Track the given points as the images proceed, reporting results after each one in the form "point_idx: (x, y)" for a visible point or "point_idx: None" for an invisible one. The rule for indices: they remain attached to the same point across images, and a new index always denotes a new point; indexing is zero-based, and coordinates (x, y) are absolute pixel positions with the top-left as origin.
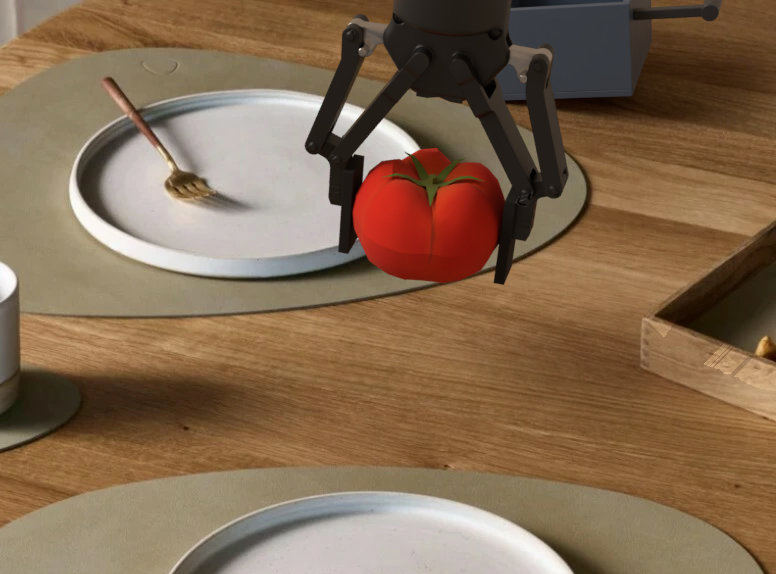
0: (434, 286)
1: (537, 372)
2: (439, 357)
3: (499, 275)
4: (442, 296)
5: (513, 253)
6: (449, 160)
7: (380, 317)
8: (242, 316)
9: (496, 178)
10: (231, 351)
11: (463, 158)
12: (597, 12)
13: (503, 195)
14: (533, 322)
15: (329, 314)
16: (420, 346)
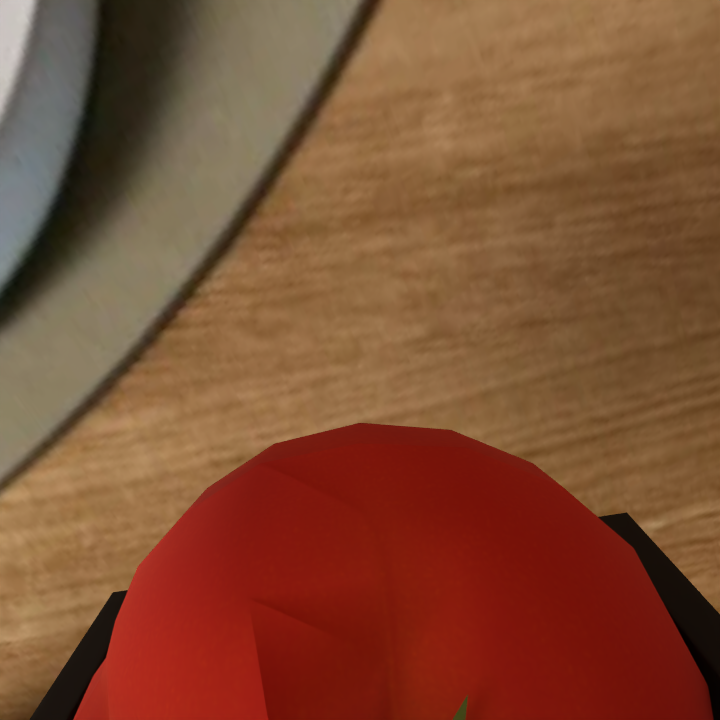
0: (282, 165)
1: (595, 359)
2: (405, 414)
3: None
4: (316, 196)
5: (650, 541)
6: (365, 668)
7: (240, 348)
8: (11, 490)
9: (676, 712)
10: (67, 593)
11: (461, 713)
12: None
13: (671, 624)
14: (534, 185)
15: (147, 394)
16: (357, 399)
